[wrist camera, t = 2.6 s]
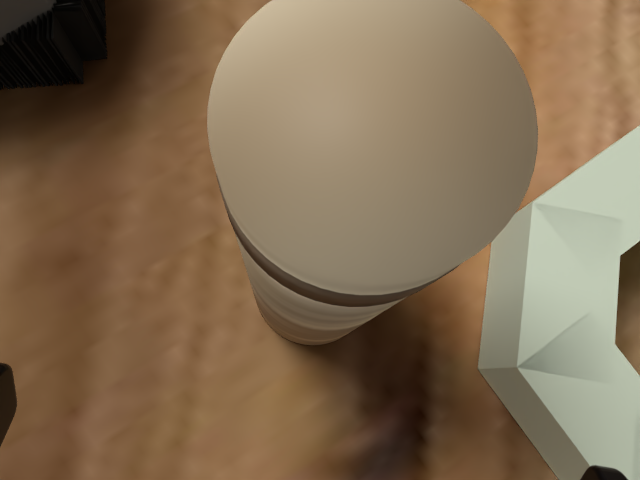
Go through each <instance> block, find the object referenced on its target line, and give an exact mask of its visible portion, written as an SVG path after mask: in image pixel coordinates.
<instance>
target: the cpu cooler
mask: <svg viewBox="0 0 640 480" xmlns="http://www.w3.org/2000/svg"><path fill="white" fill-rule="evenodd" d="M104 1H105V0H0V90H1V88H2V89H3V85H4V86H5V87H6V88H7V89H10V87H11V88H12V89H15V87H16V88H17V84H18V85H19V86H20V87H21V88H23V85H24V86H25V88H28V86H29V87H30V88H31V87H32V85H33V86H34V87H36V82H37V83H38V84H39V86H40V87H41V85H42V86H43V87H45V84H46V86H49V82H50V83H51V85H52V86H53V83H54V84H55V85H56V86H58V83H59V84H60V85H62V80H63V82H64V83H65V84H66V81H67V83H68V84H69V77H70V79H71V80H72V81H73V83H74V84H75V79H76V80H77V82H78V83H79V81H80V83H81V84H84V81H83V61H87V60H97V59H106V58H107V57H106V56H107V53H106V52H107V50H106V48H107V47H106V45H107V44H106V42H105V40H106V38H105V36H106V31H105V30H106V28H105V27H106V24H105V23H106V21H105V19H106V18H105V6H104V5H105V2H104Z"/></svg>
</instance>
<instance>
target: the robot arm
mask: <svg viewBox="0 0 640 480" xmlns="http://www.w3.org/2000/svg"><path fill="white" fill-rule="evenodd" d="M16 407H17V398H16V391H15V384H14V377H13V371H12V368H11V367H10V366H9V365H7V364H4V363H0V446H1V444H2V442H3V440H4V438H5V435H6V433H7V431H8V429H9V426H10V424H11V422H12V420H13V417H14V415H15V412H16ZM580 480H628V479H627V478H626V476H625V475H624V474H623V473H622V472H620V471H619V470H617V469H615V468H610V467H604V466H598V465H592V466H590V467H588V468H587V470H586V471H585V473H584V474H583V476H582V477H581V479H580Z"/></svg>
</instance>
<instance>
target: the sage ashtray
mask: <svg viewBox="0 0 640 480" xmlns="http://www.w3.org/2000/svg"><path fill="white" fill-rule="evenodd" d="M639 241H640V125H639V126H638V127H636V128H635V129H634V130H632V131H631V132H629V133H628V134H626V135H625V136H624V137H622V138H621V139H619V140H618V141H616V142H615V143H613V144H612V145H611V146H609V147H608V148H606V149H605V150H603V151H602V152H601V153H599V154H598V155H596V156H595V157H594V158H592V159H591V160H589V161H588V162H587V163H585V164H584V165H582V166H581V167H580V168H578V169H577V170H575V171H574V172H573V173H571V174H570V175H568V176H567V177H566V178H564V179H563V180H561V181H560V182H559V183H557V184H556V185H554V186H553V187H552V188H550V189H549V190H547V191H546V192H545V193H543V194H542V195H540V196H539V197H538V198H536V199H535V200H534V201H532V202H531V203H529V204H528V205H527V206H525V207H524V208H522V209H521V210H520V211H518V212H517V213H515V214H514V215H513V217H512V218H511V220H510V221H509V223H508V224H507V225H506V226H505V228H504V229H503V230H502V231H501V232H500V233H499V234H498V235H497V236H496V238H495V239H494V240H493V241H492V244H491V253H490V262H489V271H488V280H487V289H486V298H485V307H484V316H483V325H482V334H481V344H480V353H479V362H478V370H479V371H480V373H481V374H482V375H483V377H484V378H485V379H486V381H487V382H488V384H489V385H490V386H491V388H492V389H493V390H494V392H495V393H496V394H497V396H498V397H499V399H500V400H501V401H502V403H503V404H504V405H505V407H506V408H507V410H508V411H509V412H510V414H511V415H512V416H513V418H514V419H515V420H516V422H517V423H518V425H519V426H520V427H521V429H522V430H523V431H524V433H525V434H526V435H527V437H528V438H529V440H530V441H531V442H532V444H533V445H534V446H535V448H536V449H537V450H538V452H539V453H540V455H541V456H542V457H543V459H544V460H545V461H546V463H547V464H548V465H549V467H550V468H551V470H552V471H553V472H554V474H555V475H556V476H557V478H558V479H559V480H580V479H581V477H582V476H583V474H584V473H585V471H586V470H587V468H588V467H590V466H592V465H598V466H604V467H610V468H615V469H617V470H619V471H620V472H622V473H623V474H624V475H625V476H626V478H627V479H628V480H640V376H639V374H638V373H637V372H636V371H635V369H634V368H633V367H632V365H631V364H630V363H629V362H628V360H627V359H626V358H625V356H624V355H623V354H622V353H621V351H620V350H619V349H618V347H617V346H616V345H615V334H616V317H617V300H618V284H619V267H620V256H621V255H622V254H623V253H625V252H626V251H627V250H628V249H630V248H631V247H632V246H634V245H635V244H636V243H638V242H639Z"/></svg>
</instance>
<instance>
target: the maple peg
mask: <svg viewBox="0 0 640 480" xmlns="http://www.w3.org/2000/svg"><path fill="white" fill-rule="evenodd" d="M207 130H208V138H209V146H210V152H211V155H212V159H213V163H214V166H215V170H216V174H217V180H218V183H219V187H220V191H221V194H222V198H223V201H224V204H225V207H226V210H227V213H228V216H229V219H230V222H231V224H232V226H233V229H234V231H235V234H236V238H237V241H238V244H239V247H240V250H241V254H242V257H243V260H244V263H245V267H246V270H247V273H248V276H249V279H250V283H251V286H252V289H253V292H254V296H255V299H256V302H257V305H258V308H259V310H260V313H261V314H262V316H263V318H264V319H265V321H266V322H267V323H268V325H269V326H270V327H271V328H272V329H273V330H274V331H275V332H277V333H278V334H279V335H281V336H282V337H284V338H286V339H288V340H290V341H293V342H295V343H299V344H304V345H321V344H327V343H330V342H333V341H336V340H338V339H340V338H342V337H343V336H345V335H346V334H348V333H350V332H351V331H353V330H355V329H356V328H358V327H359V326H361V325H363V324H364V323H366V322H367V321H369V320H371V319H372V318H374V317H376V316H377V315H379V314H380V313H382V312H384V311H385V310H387V309H388V308H390V307H392V306H393V305H395V304H396V303H398V302H400V301H401V300H403V299H405V298H406V297H408V296H410V295H412V294H414V293H417V292H418V291H420V290H422V289H423V288H425V287H427V286H428V285H430V284H432V283H433V282H435V281H436V280H438V279H440V278H441V277H443V276H445V275H446V274H448V273H449V272H451V271H453V270H454V269H455V268H457V267H458V266H459V265H460V264H461V263H463V262H464V261H466V260H467V259H469V258H471V257H472V256H474V255H475V254H477V253H478V252H479V251H481V250H482V249H483V248H484V247H485V246H487V245H488V244H489V243H490V242H491V241H493V240H494V239H495V238H496V236H497V235H498V234H499V233H500V232H501V231H502V230H503V229H504V228H505V226H506V225H507V224H508V223H509V221H510V220H511V218H512V217H513V215H514V214H515V212H516V211H517V209H518V208H519V206H520V204H521V202H522V200H523V198H524V196H525V194H526V192H527V190H528V187H529V184H530V180H531V177H532V174H533V171H534V166H535V160H536V154H537V143H538V126H537V117H536V109H535V105H534V101H533V97H532V93H531V89H530V87H529V84H528V82H527V79H526V77H525V74H524V71H523V70H522V68H521V66H520V64H519V62H518V60H517V59H516V57H515V55H514V53H513V52H512V50H511V49H510V48H509V46H508V45H507V43H506V42H505V41H504V39H503V38H502V37H501V36H500V35H499V33H498V32H497V31H496V30H495V29H494V28H493V27H492V26H491V25H490V24H489V23H488V22H487V21H486V20H485V19H484V18H483V17H481V16H480V15H479V14H478V13H477V12H476V11H474V10H473V9H472V8H471V7H469V6H468V5H466V4H465V3H463V2H462V1H460V0H272V1H271V2H269V3H268V4H266V5H265V6H263V7H262V8H261V9H260V10H259V11H258V12H257V13H255V14H254V15H253V16H252V17H251V18H250V19H249V20H248V21H247V22H246V23H245V24H244V26H243V27H242V28H241V29H240V30H239V31H238V32H237V34H236V35H235V37H234V38H233V40H232V41H231V43H230V44H229V46H228V47H227V49H226V50H225V52H224V55H223V57H222V59H221V61H220V63H219V65H218V67H217V70H216V73H215V76H214V79H213V83H212V86H211V90H210V97H209V103H208V118H207Z"/></svg>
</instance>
